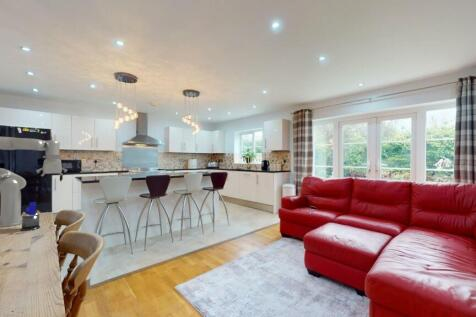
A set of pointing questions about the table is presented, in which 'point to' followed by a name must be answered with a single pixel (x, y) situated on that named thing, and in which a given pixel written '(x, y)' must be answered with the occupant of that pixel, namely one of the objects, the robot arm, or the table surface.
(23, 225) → the motor
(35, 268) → the table surface
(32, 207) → the cable clip
